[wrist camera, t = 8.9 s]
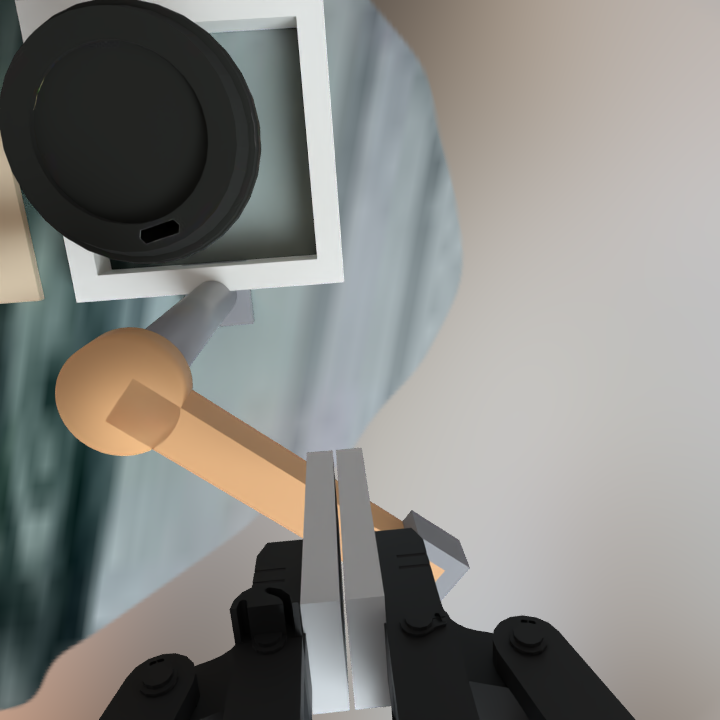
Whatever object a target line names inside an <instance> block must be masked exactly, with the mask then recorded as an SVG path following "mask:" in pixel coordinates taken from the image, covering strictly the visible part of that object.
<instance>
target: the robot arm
mask: <svg viewBox="0 0 720 720" xmlns="http://www.w3.org/2000/svg"><path fill="white" fill-rule="evenodd" d="M336 455H337V471H338V488H339V504H340V520H341V537H342V553H343V569H344V586H345V601H346V613H347V623H348V635H349V647H350V657H351V669H352V679H353V691H354V702H355V710H357V709H367V708H377V707H386V706H391V707H392V720H635V719H634V717H633V716H632V715H631V714H630V713H629V712H628V711H627V709H626V708H625V707H624V706H623V705H622V704H621V702H620V701H619V700H618V699H617V698H616V697H615V696H614V695H613V693H612V692H611V691H610V690H609V689H608V688H607V686H606V685H605V684H604V683H603V682H602V681H601V679H600V678H599V677H598V676H597V675H596V674H595V673H594V671H593V670H592V669H591V668H590V667H589V666H588V664H586V662H585V661H584V660H583V659H582V658H581V656H580V655H579V654H578V653H577V652H576V651H575V650H574V648H573V647H572V646H571V645H570V644H569V643H568V641H567V640H566V639H565V638H564V637H563V636H562V635H561V633H560V632H559V631H557V629H555V628H554V627H553V626H552V625H551V624H549V623H548V622H545V621H543V620H541V619H538V618H535V617H529V616H515V617H509V618H507V619H506V620H503V621H501V622H500V623H499V624H498V625H497V627H496V628H495V629H494V633H489V632H482V631H476V630H472V629H468V628H465V627H463V626H461V625H459V624H457V623H455V622H454V621H453V620H451V619H450V617H449V615H448V614H447V612H445V611H444V609H443V607H442V604H441V600H440V597H439V593H438V590H437V586H436V583H435V579H434V576H433V572H432V569H431V566H430V562H429V558H428V555H427V551H426V548H425V544H424V541H423V538H422V537H421V536H420V535H419V534H417V533H416V532H415V531H414V530H413V529H412V528H404V529H393V530H383V531H374V525H373V518H372V512H371V505H370V499H369V493H368V486H367V480H366V473H365V467H364V460H363V453H362V448H354V449H342V450H336ZM230 614H231V620H232V627H233V633H234V639H235V646H234V647H233V648H232V649H231V650H229V651H228V652H227V653H225V654H223V655H222V656H220V657H218V658H215V659H213V660H211V661H208V662H205V663H202V664H199V665H197V666H194V663H193V662H192V661H191V660H190V659H188V657H187V656H183V655H180V654H176V653H175V654H174V653H173V654H162V655H160V656H157V657H153V658H151V659H148V660H147V661H145V662H143V663H142V664H140V665H139V666H137V667H136V668H135V669H134V670H133V671H132V673H130V675H129V676H128V677H127V678H126V679H125V681H124V682H123V684H122V685H121V687H120V689H119V690H118V692H117V693H116V695H115V696H114V698H113V699H112V701H111V702H110V704H109V705H108V707H107V708H106V710H105V711H104V713H103V714H102V716H101V717H100V719H99V720H312V710H313V714H321V713H330V712H339V711H349V710H350V707H349V688H348V670H347V653H346V635H345V617H344V600H343V582H342V564H341V547H340V529H339V518H338V507H337V496H336V484H335V475H334V462H333V451H332V450H331V451H320V452H309V453H307V463H306V485H305V508H304V530H303V540H294V541H283V542H272V543H267V544H266V545H265V547H264V548H263V549H262V551H261V552H260V553H259V554H258V556H257V559H256V566H255V573H254V578H253V585H252V588H250V589H248V590H246V591H244V592H242V593H241V594H240V595H239V596H238V597H237V598H236V599H235V600H234V601H233V603H232V606H231V608H230Z"/></svg>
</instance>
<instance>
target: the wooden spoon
mask: <svg viewBox="0 0 720 720" xmlns="http://www.w3.org/2000/svg"><path fill="white" fill-rule="evenodd" d="M192 388H193V383H192V375H191V371H190V368H189V365H188V363H187V361H186V359H185V358H184V356H183V354H182V353H181V352H180V351H179V349H178V348H177V347H176V346H175V345H174V344H173V343H171V342H170V341H169V340H167V339H166V338H165V337H163V336H161V335H159V334H157V333H155V332H152V331H149V330H146V329H141V328H131V327H127V328H119V329H115V330H111V331H109V332H106V333H104V334H102V335H100V336H99V337H97V338H96V339H94V340H93V341H91V342H90V343H88V344H87V345H86V346H84V347H83V348H81V349H80V350H78V351H77V352H76V353H74V354H73V355H72V356H71V357H70V358H69V359H68V360H67V361H66V363H65V364H64V365H63V367H62V369H61V371H60V373H59V375H58V378H57V382H56V389H55V397H56V404H57V408H58V411H59V414H60V416H61V418H62V420H63V422H64V424H65V425H66V427H67V428H68V429H69V431H70V432H71V433H72V434H73V435H74V436H75V437H76V438H77V439H79V440H80V441H81V442H83V443H84V444H86V445H87V446H89V447H91V448H93V449H95V450H97V451H100V452H102V453H106V454H110V455H117V456H130V455H137V454H141V453H144V452H147V451H150V450H152V449H153V450H155V451H157V452H158V453H160V454H162V455H163V456H165V457H167V458H168V459H170V460H172V461H173V462H175V463H177V464H178V465H180V466H182V467H184V468H185V469H187V470H189V471H190V472H192V473H194V474H195V475H197V476H199V477H200V478H202V479H204V480H205V481H207V482H209V483H211V484H212V485H214V486H216V487H217V488H219V489H221V490H222V491H224V492H226V493H227V494H229V495H231V496H232V497H234V498H236V499H238V500H239V501H241V502H243V503H244V504H246V505H248V506H249V507H251V508H253V509H254V510H256V511H258V512H259V513H261V514H263V515H265V516H266V517H268V518H270V519H271V520H273V521H275V522H277V523H278V524H280V525H281V526H283V527H285V528H287V529H288V530H290V531H292V532H293V533H295V534H297V535H298V536H300V537H302V538H303V530H304V508H305V485H306V463H307V461H305V460H304V459H302V458H300V457H299V456H297V455H296V454H294V453H292V452H291V451H289V450H288V449H286V448H284V447H283V446H281V445H280V444H278V443H276V442H275V441H273V440H272V439H270V438H268V437H267V436H265V435H264V434H262V433H260V432H259V431H257V430H256V429H254V428H252V427H251V426H249V425H248V424H246V423H244V422H243V421H241V420H240V419H238V418H236V417H235V416H233V415H232V414H230V413H229V412H227V411H225V410H224V409H222V408H221V407H219V406H217V405H216V404H214V403H213V402H211V401H209V400H208V399H206V398H205V397H203V396H201V395H200V394H198V393H197V392H195V391H193V390H192ZM335 484H336V496H337V507H338V518H339V529H340V547H341V561H343V553H342V537H341V520H340V504H339V488H338V481H337V480H336V479H335ZM370 505H371V512H372V518H373V525H374V531H383V530H393V529H404V528H412V529H413V530H414V531H415V532H416V533H417V534H419V535H420V536H421V537H422V538H423V541H424V544H425V548H426V551H427V555H428V558H429V562H430V566H431V569H432V572H433V576H434V579H435V583H436V586H437V590H438V593H439V597H440V600H442V599H443V598H444V597H445V596H446V595H447V594H448V592H449V591H450V590H451V589H452V588H453V587H454V586H455V584H456V583H457V582H458V581H459V580H460V579H461V577H462V576H463V575H464V574H465V573H466V572H467V571H468V569H469V568H470V567H469V565H468V562H467V559H466V557H465V554H464V551H463V549H462V546H461V544H460V541H459V540H458V539H456V538H455V537H453V536H452V535H450V534H449V533H447V532H445V531H444V530H442V529H441V528H439V527H438V526H436V525H434V524H433V523H431V522H430V521H428V520H426V519H425V518H423V517H422V516H420V515H419V514H417V513H415V512H414V511H411V512H410V513H409V514H408V515H407V517H406V518H405V519H404V520H403V521H401V520H399V519H398V518H396V517H394V516H393V515H391V514H389V513H388V512H387V511H385V510H383V509H382V508H380V507H379V506H377V505H375V504H374V503H372V502H371V501H370Z"/></svg>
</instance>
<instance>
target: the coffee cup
mask: <svg viewBox="0 0 720 720" xmlns="http://www.w3.org/2000/svg"><path fill="white" fill-rule="evenodd" d="M0 132H1V138H2V144H3V149H4V152H5V155H6V157H7V160H8V163H9V165H10V168H11V171H12V173H13V175H14V177H15V178H16V180H17V182H18V183H19V185H20V187H21V189H22V190H23V192H24V194H25V195H26V197H27V199H28V200H29V202H30V203H31V204H32V205H33V206H34V208H35V209H36V210H37V211H38V212H39V213H40V215H41V216H42V217H43V218H44V219H45V221H47V222H48V223H49V224H50V225H51V226H53V227H54V228H55V229H56V230H57V231H58V232H60V233H61V234H62V235H63V236H64V237H66V238H67V239H69V240H70V241H72V242H74V243H76V244H77V245H79V246H81V247H82V248H84V249H86V250H88V251H90V252H93V253H96V254H98V255H101V256H104V257H107V258H109V259H113V260H118V261H124V262H130V263H136V264H152V263H165V262H170V261H174V260H179V259H183V258H186V257H188V256H190V255H192V254H195V253H197V252H199V251H201V250H203V249H205V248H207V247H208V246H209V245H211V244H212V243H214V242H215V241H216V240H218V239H219V238H220V237H222V236H223V235H224V234H225V233H226V232H227V231H228V230H229V228H230V227H231V226H232V225H233V224H234V223H235V222H236V221H237V219H238V218H239V217H240V215H241V213H242V211H243V210H244V208H245V206H246V205H247V203H248V201H249V199H250V197H251V194H252V191H253V188H254V185H255V183H256V180H257V177H258V171H259V164H260V156H261V138H260V124H259V120H258V116H257V112H256V108H255V104H254V99H253V97H252V95H251V92H250V90H249V88H248V86H247V84H246V81H245V79H244V77H243V75H242V73H241V72H240V70H239V69H238V67H237V66H236V64H235V63H234V61H233V60H232V58H231V57H230V55H229V54H228V53H227V51H226V50H225V49H224V48H223V47H222V46H221V45H220V44H219V43H218V42H217V41H216V40H215V39H214V38H213V37H212V36H211V35H210V34H209V33H208V32H207V31H206V30H204V29H203V28H201V27H200V26H198V25H197V24H196V23H194V22H193V21H191V20H190V19H188V18H187V17H185V16H184V15H182V14H179V13H177V12H175V11H172V10H170V9H168V8H166V7H163V6H161V5H159V4H155V3H150V2H145V1H141V0H91V1H87V2H82V3H78V4H75V5H73V6H71V7H69V8H67V9H65V10H63V11H61V12H59V13H57V14H55V15H53V16H52V17H50V18H49V19H48V20H47V21H46V22H44V23H43V24H42V25H41V26H39V27H38V28H37V29H36V30H35V31H33V33H32V34H31V35H30V36H29V37H28V38H27V39H26V41H25V42H24V43H23V45H22V46H21V47H20V49H19V50H18V51H17V52H16V54H15V55H14V57H13V60H12V62H11V64H10V66H9V68H8V71H7V73H6V75H5V78H4V82H3V87H2V91H1V96H0Z"/></svg>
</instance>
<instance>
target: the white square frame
mask: <svg viewBox="0 0 720 720" xmlns="http://www.w3.org/2000/svg"><path fill="white" fill-rule="evenodd" d="M87 1H91V0H15V3H16V8H17V13H18V18H19V23H20V28H21V33H22V38H23V42H25V41H26V39H27V38H28V37H29V36H30V35H31V34H32V33H33V31H35V30H36V29H37V28H38V27H39V26H41V25H42V24H43V23H44V22H46V21H47V20H48V19H49V18H50V17H52V16H53V15H55V14H57V13H59V12H61V11H63V10H65V9H67V8H69V7H71V6H73V5H75V4H78V3H82V2H87ZM141 1H145V2H150V3H155V4H159V5H161V6H163V7H166V8H168V9H170V10H172V11H175V12H177V13H179V14H182V15H184V16H185V17H187V18H188V19H190V20H191V21H193V22H194V23H196V24H197V25H198V26H200V27H201V28H203V29H204V30H206V31H207V32H208V33H217V32H234V31H250V30H267V29H283V28H297V32H298V43H299V55H300V66H301V77H302V89H303V100H304V112H305V123H306V135H307V146H308V158H309V169H310V180H311V192H312V203H313V215H314V226H315V238H316V249H317V254H316V255H303V256H290V257H276V258H263V259H250V260H236V261H223V262H210V263H196V264H183V265H170V266H156V267H143V268H130V269H116V270H112V268H111V263H110V259H109V258H107V257H104V256H101V255H98V254H96V253H93V252H90V251H88V250H86V249H84V248H82V247H81V246H79V245H77V244H76V243H74V242H72V241H70V240H69V239H67V238H66V237H64V236H63V237H64V242H65V247H66V252H67V257H68V261H69V266H70V271H71V276H72V281H73V286H74V291H75V295H76V300H77V303H78V302H91V301H104V300H117V299H130V298H143V297H156V296H169V295H182V294H185V297H184V298H183V299H182V300H180V301H179V302H178V303H177V304H175V305H174V306H173V307H172V308H171V309H169V310H168V311H167V312H166V313H164V314H163V315H162V316H161V317H160V318H158V319H157V320H156V321H155V322H153V323H152V324H151V325H150V326H148V327H147V328H146V330H149V331H152V332H155V333H157V334H159V335H161V336H163V337H165V338H166V339H167V340H169V341H170V342H171V343H173V344H174V345H175V346H176V347H177V348H178V349H179V351H180V352H181V353H182V354H183V356H184V358H185V359H186V361H187V363H188V365H189V367H190V365H191V364H192V363H193V361H194V360H195V359H196V357H197V356H198V355H199V353H200V352H201V350H202V349H203V348H204V346H205V345H206V344H207V342H208V341H209V339H210V338H211V337H212V335H213V334H214V333H215V331H216V330H217V328H218V327H219V326H231V325H244V324H253V323H254V313H253V305H252V296H251V289H261V288H274V287H287V286H300V285H313V284H326V283H339V282H344V272H343V259H342V246H341V233H340V219H339V206H338V193H337V180H336V166H335V153H334V140H333V127H332V113H331V100H330V87H329V74H328V60H327V47H326V34H325V21H324V7H323V0H141Z"/></svg>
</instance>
